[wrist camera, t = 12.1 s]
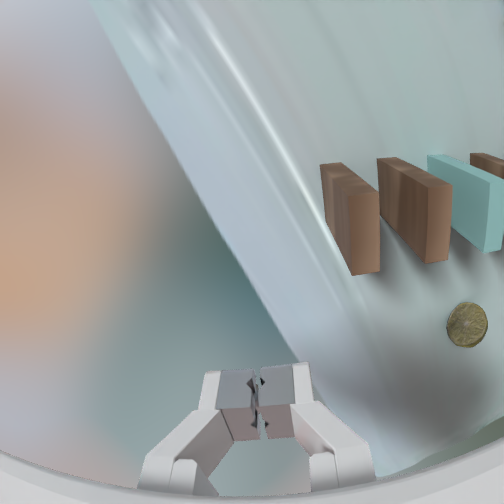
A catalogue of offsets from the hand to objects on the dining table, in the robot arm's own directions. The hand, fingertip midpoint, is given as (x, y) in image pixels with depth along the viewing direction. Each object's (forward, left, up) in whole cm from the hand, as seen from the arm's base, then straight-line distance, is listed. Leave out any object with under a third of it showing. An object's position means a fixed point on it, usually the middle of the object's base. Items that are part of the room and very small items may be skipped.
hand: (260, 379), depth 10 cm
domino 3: (0, -16, -19) cm, 25 cm away
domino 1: (0, -6, -19) cm, 20 cm away
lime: (-16, -21, -19) cm, 33 cm away
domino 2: (0, -11, -19) cm, 22 cm away
